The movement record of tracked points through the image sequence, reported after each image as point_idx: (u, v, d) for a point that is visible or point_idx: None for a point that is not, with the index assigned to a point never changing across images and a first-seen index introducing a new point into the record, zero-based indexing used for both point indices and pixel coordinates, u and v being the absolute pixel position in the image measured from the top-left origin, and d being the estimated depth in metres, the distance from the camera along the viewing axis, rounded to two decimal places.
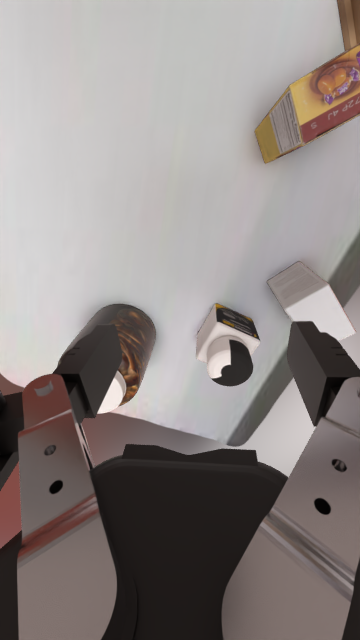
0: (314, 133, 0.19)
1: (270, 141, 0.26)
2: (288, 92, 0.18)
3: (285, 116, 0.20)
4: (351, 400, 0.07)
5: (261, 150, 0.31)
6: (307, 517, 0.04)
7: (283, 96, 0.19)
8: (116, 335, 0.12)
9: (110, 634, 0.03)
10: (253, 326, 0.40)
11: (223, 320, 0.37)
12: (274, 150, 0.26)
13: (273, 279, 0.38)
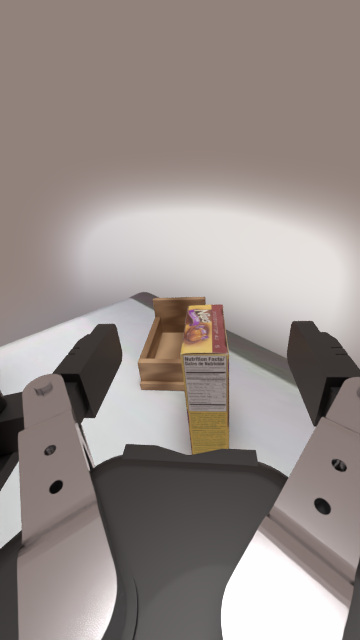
0: (223, 347, 0.21)
1: (210, 426, 0.25)
2: (184, 358, 0.21)
3: (199, 374, 0.22)
4: (351, 400, 0.07)
5: None
6: (307, 517, 0.04)
7: (184, 368, 0.22)
8: (116, 335, 0.12)
9: (110, 634, 0.03)
10: None
11: None
12: (220, 423, 0.25)
13: None
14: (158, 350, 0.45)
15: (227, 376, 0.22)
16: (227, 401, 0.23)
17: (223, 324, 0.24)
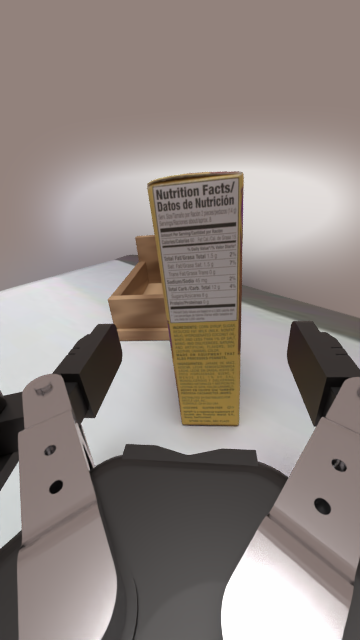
0: None
1: (209, 354, 0.15)
2: (155, 193, 0.11)
3: (185, 234, 0.11)
4: (351, 400, 0.07)
5: (215, 419, 0.17)
6: (307, 517, 0.04)
7: (156, 221, 0.11)
8: (116, 335, 0.12)
9: (110, 634, 0.03)
10: None
11: None
12: (226, 348, 0.14)
13: None
14: None
15: (239, 234, 0.11)
16: (238, 297, 0.13)
17: None
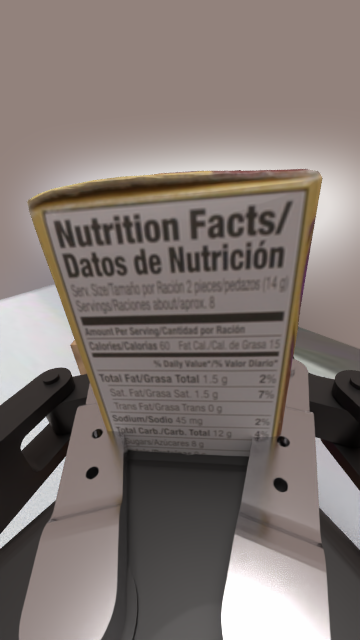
0: None
1: None
2: (54, 231, 0.04)
3: (147, 332, 0.04)
4: None
5: None
6: (271, 500, 0.04)
7: (69, 300, 0.04)
8: None
9: (110, 634, 0.03)
10: None
11: None
12: None
13: None
14: None
15: (290, 339, 0.04)
16: None
17: None
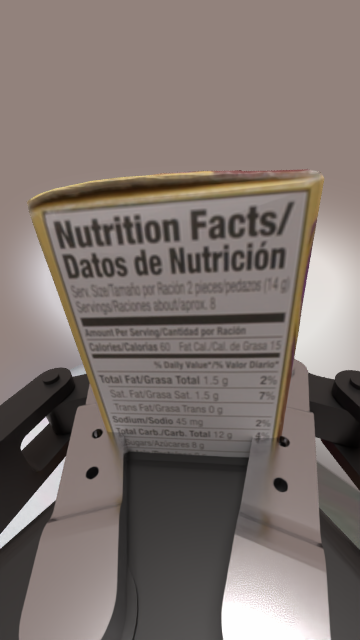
0: None
1: None
2: (53, 231, 0.04)
3: (148, 333, 0.04)
4: None
5: None
6: (271, 500, 0.04)
7: (69, 301, 0.04)
8: None
9: (110, 634, 0.03)
10: None
11: None
12: None
13: None
14: None
15: (292, 341, 0.04)
16: None
17: None
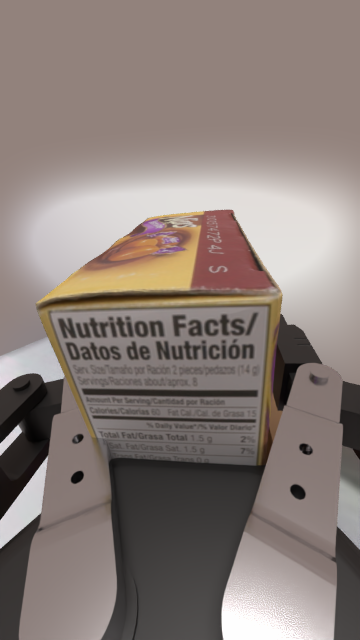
0: (247, 271, 0.04)
1: None
2: (58, 325, 0.04)
3: (140, 401, 0.05)
4: (305, 385, 0.07)
5: None
6: (286, 506, 0.04)
7: (71, 376, 0.05)
8: None
9: (110, 634, 0.03)
10: None
11: None
12: None
13: None
14: None
15: (265, 410, 0.05)
16: None
17: (238, 230, 0.08)
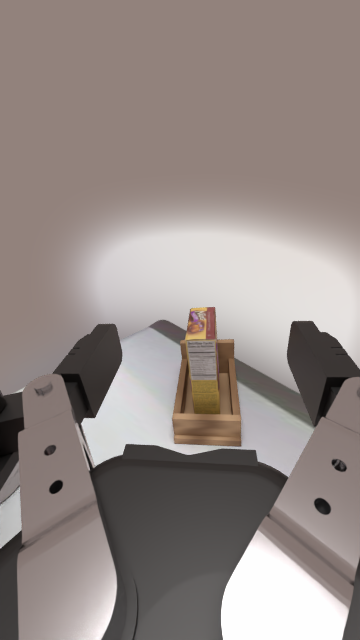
0: (213, 335, 0.33)
1: (206, 391, 0.36)
2: (187, 343, 0.33)
3: (197, 354, 0.33)
4: (351, 400, 0.07)
5: None
6: (307, 517, 0.04)
7: (187, 350, 0.33)
8: (116, 335, 0.12)
9: (110, 634, 0.03)
10: None
11: None
12: (213, 389, 0.36)
13: None
14: (187, 395, 0.44)
15: (216, 354, 0.33)
16: (217, 372, 0.34)
17: (214, 321, 0.36)
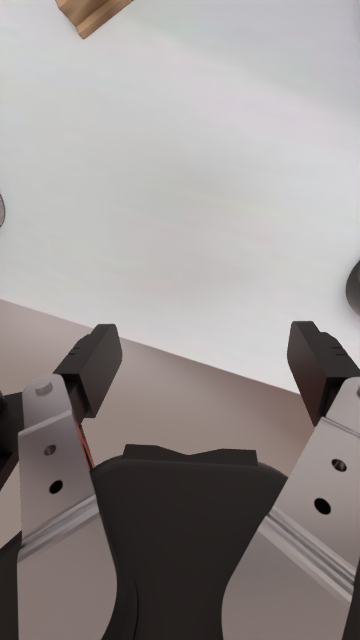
0: None
1: None
2: None
3: None
4: (351, 400, 0.07)
5: None
6: (307, 517, 0.04)
7: None
8: (116, 335, 0.12)
9: (110, 634, 0.03)
10: None
11: None
12: None
13: None
14: None
15: None
16: None
17: None
